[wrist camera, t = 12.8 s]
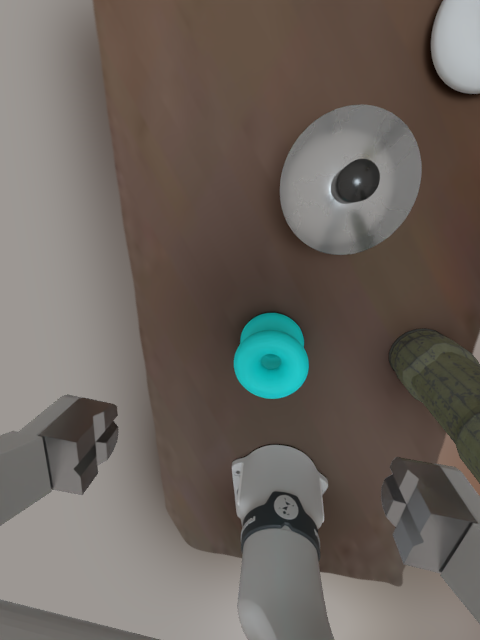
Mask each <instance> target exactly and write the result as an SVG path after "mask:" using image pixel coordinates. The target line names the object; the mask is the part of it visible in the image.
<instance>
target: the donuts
mask: <svg viewBox="0 0 480 640" xmlns="http://www.w3.org/2000/svg"><path fill="white" fill-rule="evenodd" d="M234 370H235V374H236V376H237V379H238V380H239V382H240V383H241V385H242V386H243V387H244V388H245V389H247V390H248V391H249V392H251V393H252V394H254V395H256V396H259V397H262V398H268V399H277V398H282V397H286V396H288V395H290V394H292V393H294V392H295V391H296V390H298V389H299V388H300V387H301V386H302V384H303V383H304V381H305V379H306V377H307V374H308V370H309V361H308V356H307V353H306V351H305V349H304V338H303V334H302V331H301V329H300V328H299V326H298V325H297V324H296V323H295V322H294V321H293V320H292V319H290V318H289V317H287V316H285V315H282V314H279V313H264V314H261V315H258V316H256V317H254V318H253V319H252V320H250V321H249V322H248V323H247V324H246V326H245V327H244V329H243V331H242V334H241V338H240V345H239V347H238V348H237V350H236V353H235V357H234Z"/></svg>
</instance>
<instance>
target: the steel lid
mask: <svg viewBox="0 0 480 640" xmlns="http://www.w3.org/2000/svg"><path fill="white" fill-rule="evenodd" d="M420 182H421V157H420V152H419V148H418V145H417V142H416V140H415V138H414V136H413V134H412V132H411V131H410V130H409V128H408V127H407V125H406V124H405V123H404V122H403V121H402V120H401V119H400V118H398V117H397V116H395V115H394V114H393V113H391V112H389V111H387V110H385V109H382V108H379V107H376V106H370V105H351V106H345V107H342V108H339V109H335V110H333V111H331V112H329V113H327V114H325V115H323V116H322V117H320V118H319V119H317V120H316V121H314V122H313V123H312V124H311V125H310V126H308V127H307V128H306V130H305V131H304V132H303V133H302V134H301V135H300V136H299V138H298V139H297V140H296V142H295V143H294V145H293V146H292V148H291V150H290V152H289V154H288V156H287V158H286V160H285V164H284V167H283V170H282V175H281V180H280V202H281V208H282V211H283V214H284V217H285V219H286V221H287V224H288V225H289V227H290V228H291V230H292V231H293V232H294V234H295V235H296V236H297V237H298V238H299V239H300V240H301V241H303V242H304V243H305V244H307V245H308V246H310V247H311V248H313V249H316V250H318V251H321V252H324V253H328V254H335V255H346V254H353V253H358V252H361V251H364V250H367V249H369V248H371V247H373V246H376V245H377V244H379V243H380V242H382V241H384V240H385V239H386V238H387V237H389V236H390V235H391V234H392V233H393V232H394V231H395V230H396V229H397V228H398V227H399V226H400V225H401V224H402V222H403V221H404V220H405V218H406V217H407V215H408V214H409V212H410V210H411V208H412V206H413V204H414V202H415V200H416V197H417V194H418V191H419V186H420Z"/></svg>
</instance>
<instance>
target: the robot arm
mask: <svg viewBox="0 0 480 640" xmlns="http://www.w3.org/2000/svg"><path fill="white" fill-rule="evenodd" d="M117 415H118V414H117V406H116V405H114V404H111V403H107V402H102V401H97V400H93V399H88V398H81V397H77V396H72V395H64V396H62V397H60V398H59V399H58V400H57V401H55V402H54V403H53V404H52V405H51V406H49V407H48V408H47V409H46V410H44V411H43V412H42V413H41V414H40V415H38V416H37V417H36V418H35V419H33V420H32V421H31V422H30V423H28V424H27V425H26V426H25V427H24V428H22V429H21V430H20V431H19V432H15V431H12V432H9V433H6V434H3V435H1V436H0V526H1V525H2V524H4V523H5V522H7V521H8V520H10V519H11V518H13V517H14V516H15V515H17V514H19V513H20V512H21V511H23V510H25V509H26V508H28V507H29V506H31V505H32V504H33V503H35V502H37V501H38V500H40V499H41V498H43V497H44V496H46V495H47V494H49V493H50V492H51V491H52V490H57V491H63V492H68V493H74V494H79V495H83V493H84V492H85V491H86V489H87V488H88V486H89V485H90V484H91V482H92V481H93V479H94V478H95V477H96V475H97V474H98V468H97V466H98V465H99V464H101V463H103V462H104V461H106V460H108V458H109V457H110V455H111V454H112V452H113V450H114V447H115V445H116V443H117V439H118V426H117V425H116V424H115V422H114V421H113V420H114V419H115V418H116V417H117ZM390 469H391V471H392V473H393V474H392V475H390V476H389V477H387V478H385V480H384V482H383V485H382V489H381V500H382V506H383V509H384V512H385V515H386V517H387V518H388V519H389V521H390V522H391V523H392V524H393V525H394V526H395V530H394V533H393V537H394V539H395V542H396V545H397V547H398V550H399V553H400V556H401V558H402V561H403V564H405V565H409V566H413V567H417V568H421V569H425V570H430V571H433V572H437V573H441V575H440V576H441V577H442V578H443V579H444V581H445V582H446V583H447V584H448V586H449V587H450V588H451V589H452V591H453V592H454V593H455V594H456V595H457V597H458V598H459V599H460V600H461V602H462V603H463V604H464V605H465V607H466V608H467V609H468V610H469V611H470V613H471V614H472V615H473V616H474V618H475V619H476V620H477V621H478V623H479V624H480V496H479V495H478V494H477V492H476V491H475V490H474V488H473V487H472V486H471V485H470V483H469V482H468V480H467V479H466V477H465V476H464V475H463V473H462V472H461V471H460V470H458V469H457V468H456V467H452V466H446V465H440V464H432V463H427V462H422V461H416V460H411V459H405V458H400V457H396V458H395V459H394V460H393V461H392V463H391V465H390ZM232 476H233V485H234V494H235V503H236V512H237V516H238V517H239V518H240V519H241V524H242V531H241V551H242V554H243V556H242V567H241V575H240V585H239V594H238V605H237V607H238V615H239V620H240V623H241V626H242V629H243V632H244V634H245V636H246V638H247V639H248V640H334V637H333V634H332V631H331V628H330V625H329V622H328V617H327V612H326V607H325V601H324V597H323V590H322V584H321V578H320V570H319V560H320V539H319V535H318V529H319V528H320V527H321V525H322V523H323V522H324V508H323V498H322V495H323V494H324V492H325V491H326V489H327V488H328V480H327V479H326V477H324V476H323V475H322V474H321V473H319V472H318V471H317V469H316V467H315V465H314V463H313V462H312V460H311V459H310V458H309V457H308V456H307V455H305V454H304V453H303V452H301V451H299V450H297V449H295V448H292V447H289V446H284V445H269V446H264V447H261V448H258V449H256V450H255V451H253V452H252V453H250V454H249V455H248V456H246V457H244V458H240V459H237V460H235V461H233V462H232ZM51 489H52V490H51ZM0 640H159V639H155V638H151V637H147V636H143V635H140V634H136V633H132V632H128V631H123V630H119V629H116V628H112V627H108V626H104V625H100V624H96V623H92V622H88V621H84V620H80V619H76V618H72V617H68V616H63V615H60V614H56V613H52V612H48V611H44V610H40V609H36V608H32V607H28V606H24V605H20V604H16V603H12V602H8V601H4V600H0Z"/></svg>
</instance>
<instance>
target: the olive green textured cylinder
mask: <svg viewBox="0 0 480 640" xmlns="http://www.w3.org/2000/svg"><path fill="white" fill-rule="evenodd" d="M389 362H390V365H391V367H392V369H393V370H394V371H395V372H396V374H397V377H398V378H399V380H400V381H401V382H402V383H403V385H404V386H405V387H406V389H407V390H408V391H409V393H410V394H411V395H412V396H413V397H414V398H415V399H417V400H419V401H421V402H423V404H424V405H425V406H426V407H427V409H428V410H429V411H430V412H431V414H432V415H433V416H434V417H435V419H436V420H437V421H438V423H439V424H440V425H441V426H442V428H443V429H444V430H445V431H446V433H447V434H448V435H449V436H450V438H451V439H452V440H453V441H454V443H455V444H456V447H457V450H458V453H459V456H460V458H461V460H462V461H463V462H464V463H465V465H466V466H467V467H468V469H469V470H470V471H471V473H472V474H473V475H474V477H475V478H476V479H477V480H478V482H479V483H480V364H479V362H478V361H477V359H476V358H475V357H474V356H473V355H472V353H470V352H469V351H467V350H466V349H464V348H463V347H461V346H460V345H459V344H457V343H456V342H454V341H453V340H451V339H449V338H447V337H445V336H443V335H442V334H440V333H438V332H437V331H435V330H430V329H415V330H412V331H409V332H407V333H405V334H403V335H402V336H400V337H399V338H398V339H397V340H396V341H395V342H394V344H393V345H392V347H391V349H390V352H389Z"/></svg>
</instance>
